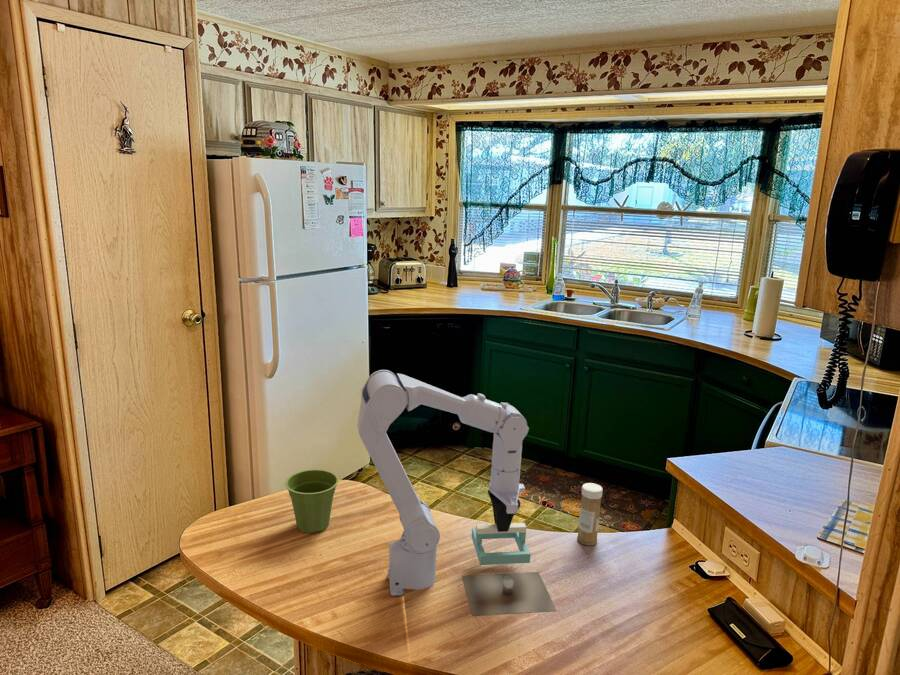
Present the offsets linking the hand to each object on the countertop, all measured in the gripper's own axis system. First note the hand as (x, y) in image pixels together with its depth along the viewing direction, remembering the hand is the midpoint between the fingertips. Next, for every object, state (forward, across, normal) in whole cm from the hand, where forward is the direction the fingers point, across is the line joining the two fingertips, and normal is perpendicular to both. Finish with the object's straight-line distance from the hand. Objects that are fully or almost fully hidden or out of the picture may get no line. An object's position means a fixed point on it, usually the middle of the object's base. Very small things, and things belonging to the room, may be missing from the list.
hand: (501, 527), depth 125 cm
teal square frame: (+5, 0, 0) cm, 5 cm away
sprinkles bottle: (+11, +10, -23) cm, 27 cm away
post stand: (+10, -8, 0) cm, 13 cm away
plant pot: (+11, +21, +39) cm, 46 cm away
